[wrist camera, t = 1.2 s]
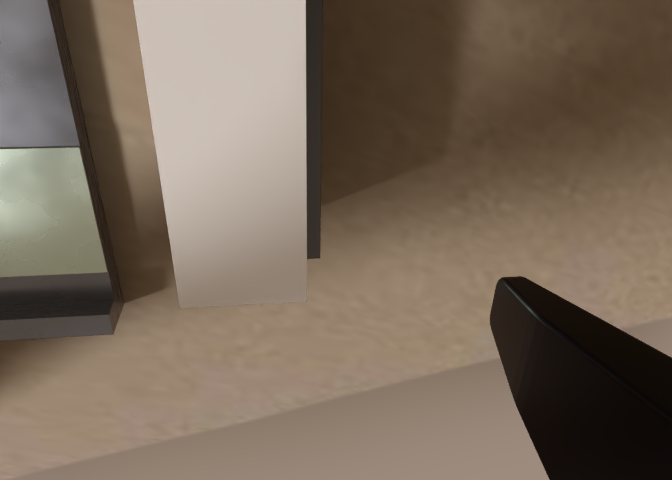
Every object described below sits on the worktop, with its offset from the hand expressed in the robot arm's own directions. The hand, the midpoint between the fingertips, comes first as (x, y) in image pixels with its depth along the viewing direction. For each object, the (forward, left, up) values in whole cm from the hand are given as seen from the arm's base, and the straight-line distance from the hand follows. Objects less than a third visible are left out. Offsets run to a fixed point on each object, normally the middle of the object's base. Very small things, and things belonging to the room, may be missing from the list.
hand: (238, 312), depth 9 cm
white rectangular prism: (0, 0, -13) cm, 13 cm away
